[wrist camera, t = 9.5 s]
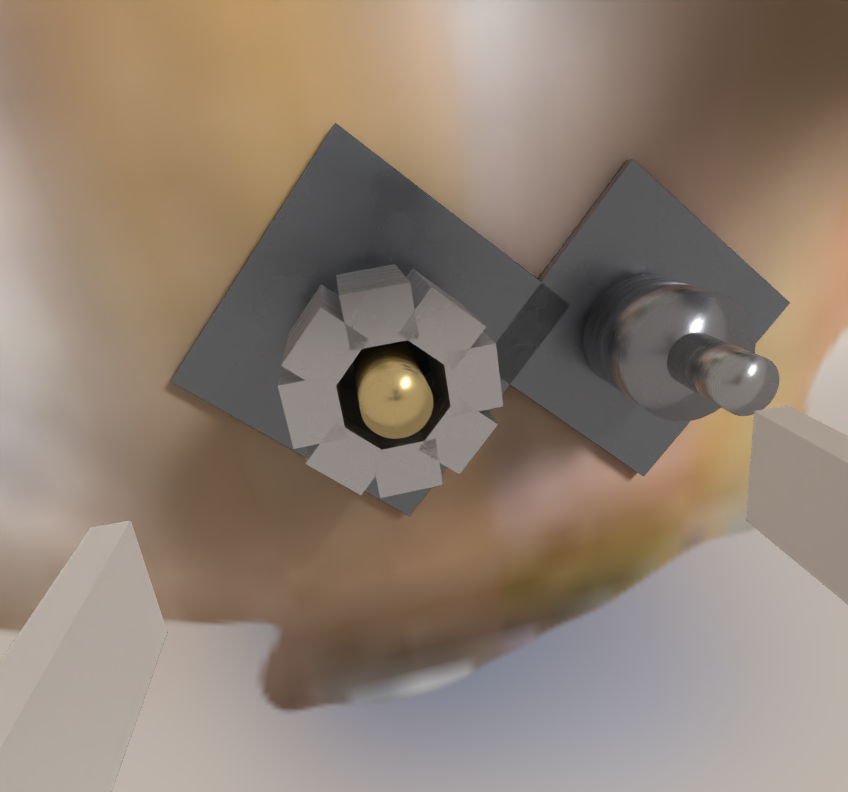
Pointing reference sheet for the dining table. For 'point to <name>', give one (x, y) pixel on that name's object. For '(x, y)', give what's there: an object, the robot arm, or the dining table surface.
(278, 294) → the hub
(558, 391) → the stand
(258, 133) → the dining table surface
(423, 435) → the ring
